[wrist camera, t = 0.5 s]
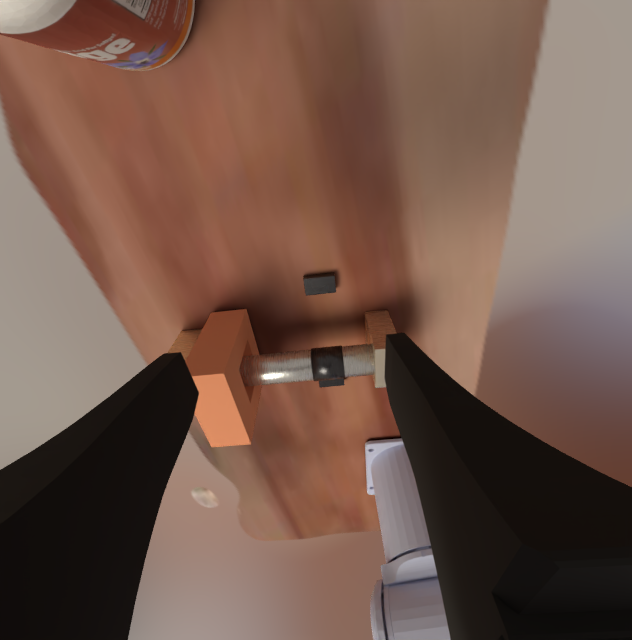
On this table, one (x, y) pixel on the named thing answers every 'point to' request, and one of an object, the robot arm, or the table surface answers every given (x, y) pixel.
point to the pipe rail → (314, 351)
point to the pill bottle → (103, 28)
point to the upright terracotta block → (224, 378)
